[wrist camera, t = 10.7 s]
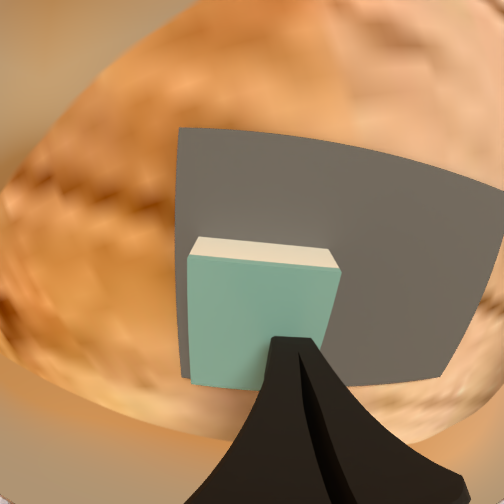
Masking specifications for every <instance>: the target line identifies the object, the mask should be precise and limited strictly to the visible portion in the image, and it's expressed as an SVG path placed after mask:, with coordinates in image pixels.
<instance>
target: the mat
mask: <svg viewBox="0 0 504 504" xmlns="http://www.w3.org/2000/svg"><path fill="white" fill-rule="evenodd" d="M503 236H504V191H501V190H499V189H497V188H494V187H492V186H489V185H486V184H484V183H481V182H479V181H476V180H473V179H470V178H468V177H465V176H462V175H459V174H456V173H453V172H450V171H447V170H444V169H441V168H437V167H434V166H431V165H428V164H424V163H421V162H417V161H414V160H410V159H406V158H402V157H398V156H395V155H391V154H386V153H382V152H378V151H374V150H369V149H364V148H360V147H355V146H350V145H345V144H340V143H334V142H328V141H323V140H316V139H310V138H303V137H296V136H289V135H281V134H272V133H263V132H253V131H241V130H228V129H210V128H179V135H178V150H177V169H176V195H175V278H176V305H177V324H178V339H179V352H180V364H181V375H182V377H183V378H190V379H191V374H190V357H189V335H188V302H187V257H188V256H189V254H190V252H191V250H192V248H193V246H194V244H195V242H196V241H197V239H198V237H209V238H220V239H230V240H241V241H252V242H262V243H272V244H283V245H293V246H303V247H313V248H322V249H329V251H330V253H331V255H332V256H333V258H334V260H335V261H336V263H337V265H338V267H339V268H340V270H341V272H342V273H341V277H340V281H339V285H338V289H337V293H336V296H335V300H334V304H333V307H332V311H331V315H330V318H329V321H328V325H327V328H326V332H325V335H324V338H323V342H322V345H321V348H320V351H321V353H322V354H323V356H324V357H325V359H326V360H327V362H328V363H329V364H330V366H331V367H332V369H333V370H334V371H335V373H336V374H337V375H338V377H339V378H340V379H341V381H342V382H343V383H344V385H345V386H365V385H379V384H390V383H400V382H408V381H416V380H424V379H430V378H437V377H440V376H441V375H442V373H443V371H444V370H445V368H446V366H447V365H448V363H449V361H450V360H451V358H452V356H453V354H454V353H455V351H456V349H457V347H458V345H459V344H460V342H461V340H462V338H463V336H464V334H465V332H466V330H467V328H468V326H469V324H470V322H471V320H472V318H473V316H474V314H475V311H476V309H477V307H478V305H479V302H480V300H481V298H482V295H483V293H484V291H485V288H486V286H487V283H488V281H489V278H490V275H491V273H492V270H493V267H494V264H495V261H496V258H497V255H498V252H499V249H500V246H501V242H502V239H503Z"/></svg>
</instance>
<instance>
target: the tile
mask: <svg viewBox="0 0 504 504" xmlns="http://www.w3.org/2000/svg"><path fill="white" fill-rule="evenodd" d="M341 273H342V272H341V270H340V268H339V267H338V265H337V263H336V261H335V260H334V258H333V256H332V255H331V253H330V251H329V249H322V248H313V247H303V246H293V245H283V244H272V243H262V242H252V241H241V240H230V239H220V238H209V237H198V239H197V241H196V242H195V244H194V246H193V248H192V250H191V252H190V254H189V256H188V257H187V302H188V335H189V357H190V374H191V384H195V385H203V386H211V387H220V388H230V389H241V390H254V391H260V389H261V387H262V384H263V381H264V373H265V368H266V363H267V357H268V352H269V346H270V341H271V338H272V337H274V336H287V337H307V338H312V340H313V341H314V342H315V344H316V345H317V347H318V348H319V350H320V348H321V345H322V342H323V338H324V335H325V332H326V328H327V325H328V321H329V318H330V315H331V311H332V307H333V304H334V300H335V296H336V293H337V289H338V285H339V281H340V277H341Z"/></svg>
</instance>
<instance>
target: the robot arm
mask: <svg viewBox="0 0 504 504" xmlns="http://www.w3.org/2000/svg"><path fill="white" fill-rule="evenodd" d="M470 500H471V498H470V495H469V492H468V489H467V487H466V484H465V482H464V479H463V477H462V476H461V475H459V474H457V473H455V472H453V471H450V470H448V469H446V468H444V467H442V466H440V465H438V464H436V463H434V462H432V461H431V460H429V459H427V458H426V457H424V456H422V455H421V454H419V453H417V452H416V451H414V450H413V449H412V448H410V447H409V446H407V445H406V444H405V443H404V442H402V441H401V440H400V439H398V438H397V437H396V436H394V435H393V434H392V433H391V432H389V431H388V430H387V429H386V428H385V427H384V426H382V425H381V424H380V423H379V422H378V421H377V420H376V419H375V418H374V417H373V416H372V415H371V414H370V413H369V412H368V411H367V410H366V409H365V408H364V407H363V406H362V405H361V404H360V402H359V401H358V400H357V399H356V398H355V397H354V396H353V394H352V393H351V392H350V391H349V390H348V388H347V387H346V386H345V385H344V383H343V382H342V381H341V379H340V378H339V377H338V375H337V374H336V373H335V371H334V370H333V369H332V367H331V366H330V364H329V363H328V362H327V360H326V359H325V357H324V356H323V354H322V353H321V351H320V350H319V348H318V347H317V345H316V344H315V342H314V341H313V340H312V338H307V337H287V336H274V337H272V338H271V341H270V346H269V352H268V357H267V363H266V368H265V373H264V381H263V384H262V387H261V389H260V391H259V394H258V396H257V399H256V401H255V403H254V406H253V408H252V410H251V412H250V414H249V416H248V418H247V420H246V421H245V423H244V425H243V427H242V429H241V430H240V432H239V434H238V435H237V437H236V439H235V440H234V442H233V443H232V445H231V446H230V448H229V450H228V451H227V453H226V454H225V455H224V457H223V458H222V459H221V461H220V462H219V463H218V465H217V466H216V467H215V469H214V470H213V471H212V473H211V474H210V475H209V476H208V478H207V479H206V480H205V481H204V482H203V484H202V485H201V486H200V487H199V488H198V489H197V490H196V491H195V492H194V493H193V494H192V495H191V497H190V498H189V499H188V500H187V501H186V502H185V503H184V504H469V502H470ZM0 504H15V503H13V502H11V501H10V500H8V499H6V498H5V497H4V496H2V495H1V494H0ZM497 504H504V499H502V500H501V501H500V502H498V503H497Z"/></svg>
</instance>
